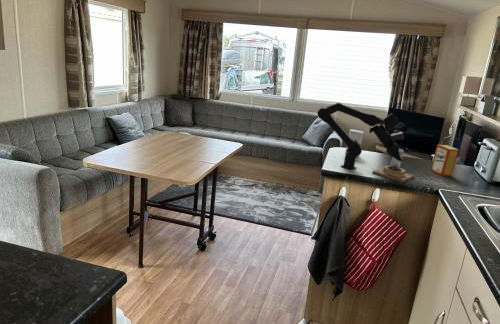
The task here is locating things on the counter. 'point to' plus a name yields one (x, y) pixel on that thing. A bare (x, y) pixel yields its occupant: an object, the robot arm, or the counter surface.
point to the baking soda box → (444, 160)
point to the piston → (396, 162)
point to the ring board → (393, 174)
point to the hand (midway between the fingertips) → (399, 158)
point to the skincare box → (355, 136)
